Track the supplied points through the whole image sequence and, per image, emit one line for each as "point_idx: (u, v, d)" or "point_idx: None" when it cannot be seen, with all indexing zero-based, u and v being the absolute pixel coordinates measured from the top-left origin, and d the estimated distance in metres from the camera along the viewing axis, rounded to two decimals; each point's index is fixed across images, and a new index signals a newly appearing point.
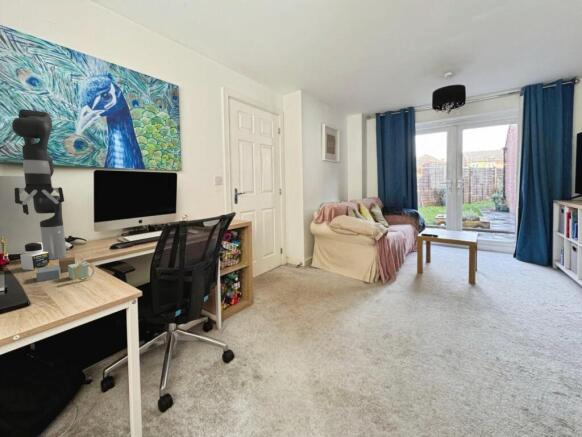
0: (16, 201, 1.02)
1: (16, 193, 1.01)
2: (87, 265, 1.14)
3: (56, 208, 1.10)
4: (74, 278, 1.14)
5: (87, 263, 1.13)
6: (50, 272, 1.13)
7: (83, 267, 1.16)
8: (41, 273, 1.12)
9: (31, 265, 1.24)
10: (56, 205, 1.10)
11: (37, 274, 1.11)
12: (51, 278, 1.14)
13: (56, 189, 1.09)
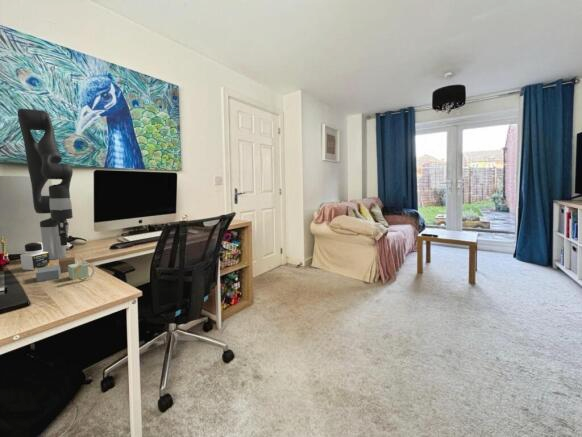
0: (66, 234, 1.19)
1: (65, 227, 1.18)
2: (87, 265, 1.14)
3: None
4: (74, 278, 1.14)
5: (87, 263, 1.13)
6: (50, 272, 1.13)
7: (83, 267, 1.16)
8: (41, 273, 1.12)
9: (31, 265, 1.24)
10: None
11: (37, 274, 1.11)
12: (51, 278, 1.14)
13: None
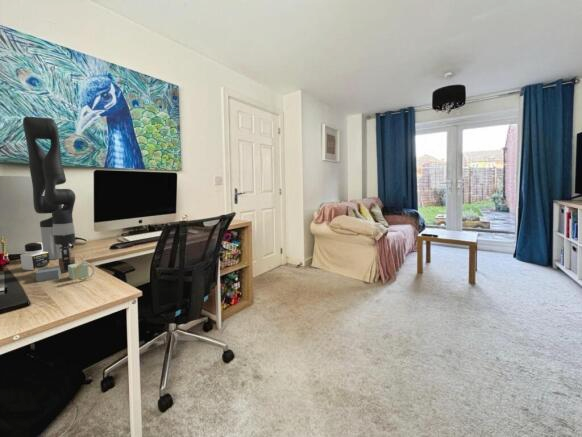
0: (69, 260, 1.21)
1: (69, 254, 1.21)
2: (87, 265, 1.14)
3: None
4: (74, 278, 1.14)
5: (87, 263, 1.13)
6: (49, 272, 1.13)
7: (83, 267, 1.16)
8: (40, 273, 1.12)
9: (31, 265, 1.24)
10: None
11: (36, 274, 1.11)
12: (50, 278, 1.13)
13: None
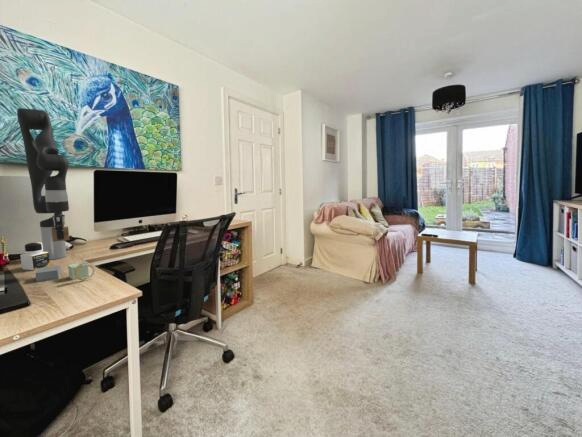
0: (63, 228, 1.17)
1: (62, 221, 1.16)
2: (87, 265, 1.14)
3: None
4: (74, 278, 1.14)
5: (87, 263, 1.13)
6: (49, 272, 1.13)
7: (83, 267, 1.16)
8: (40, 273, 1.11)
9: (31, 265, 1.24)
10: None
11: (36, 274, 1.11)
12: (50, 278, 1.13)
13: None
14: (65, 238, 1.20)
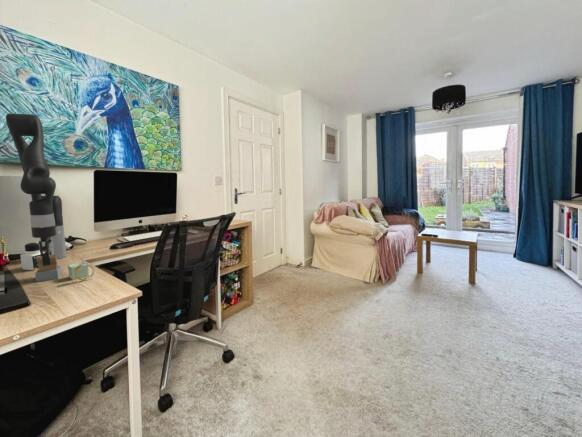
0: (48, 253, 1.10)
1: (47, 246, 1.10)
2: (87, 265, 1.14)
3: None
4: (74, 278, 1.14)
5: (87, 263, 1.13)
6: (49, 272, 1.13)
7: (83, 267, 1.16)
8: (40, 273, 1.12)
9: (31, 265, 1.24)
10: None
11: (36, 274, 1.11)
12: (50, 278, 1.13)
13: None
14: (52, 268, 1.14)
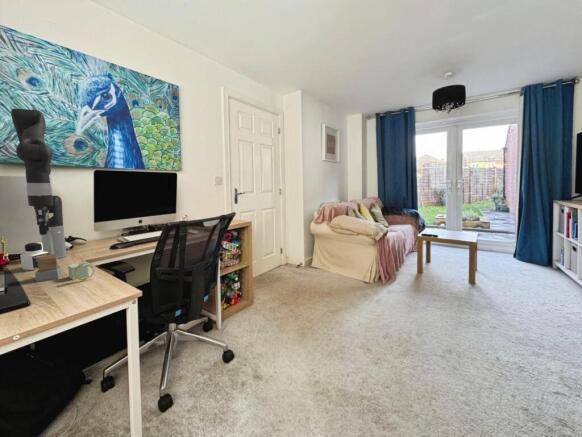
0: (45, 222, 1.08)
1: (44, 214, 1.08)
2: (87, 265, 1.14)
3: None
4: (74, 278, 1.14)
5: (87, 263, 1.13)
6: (49, 272, 1.13)
7: (83, 267, 1.16)
8: (40, 273, 1.11)
9: (31, 265, 1.24)
10: None
11: (36, 274, 1.11)
12: (50, 278, 1.13)
13: None
14: (53, 268, 1.14)
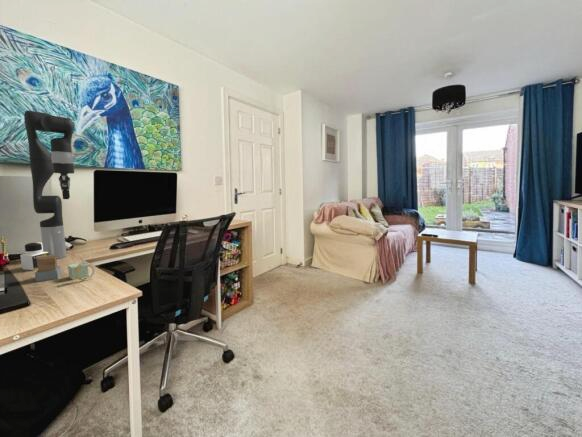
0: (68, 187, 1.19)
1: (67, 180, 1.19)
2: (87, 265, 1.14)
3: None
4: (74, 278, 1.14)
5: (87, 263, 1.13)
6: (48, 272, 1.13)
7: (83, 267, 1.16)
8: (40, 273, 1.12)
9: (31, 265, 1.24)
10: None
11: (36, 274, 1.11)
12: (49, 278, 1.13)
13: None
14: (52, 268, 1.14)
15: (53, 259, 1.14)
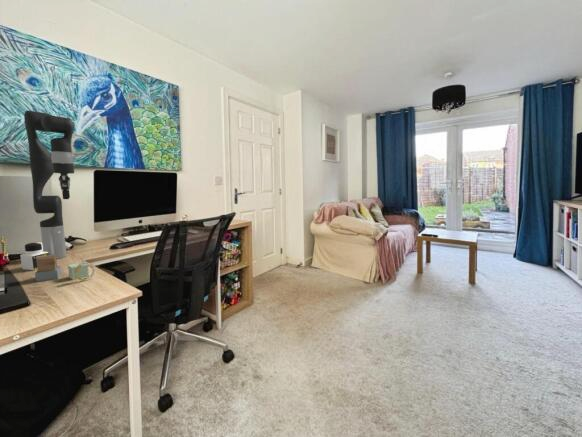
0: (68, 187, 1.19)
1: (67, 180, 1.19)
2: (87, 265, 1.14)
3: None
4: (74, 278, 1.14)
5: (87, 263, 1.13)
6: (49, 272, 1.13)
7: (83, 267, 1.16)
8: (40, 273, 1.12)
9: (31, 265, 1.24)
10: None
11: (36, 274, 1.11)
12: (50, 278, 1.13)
13: None
14: (51, 268, 1.14)
15: (53, 259, 1.14)
